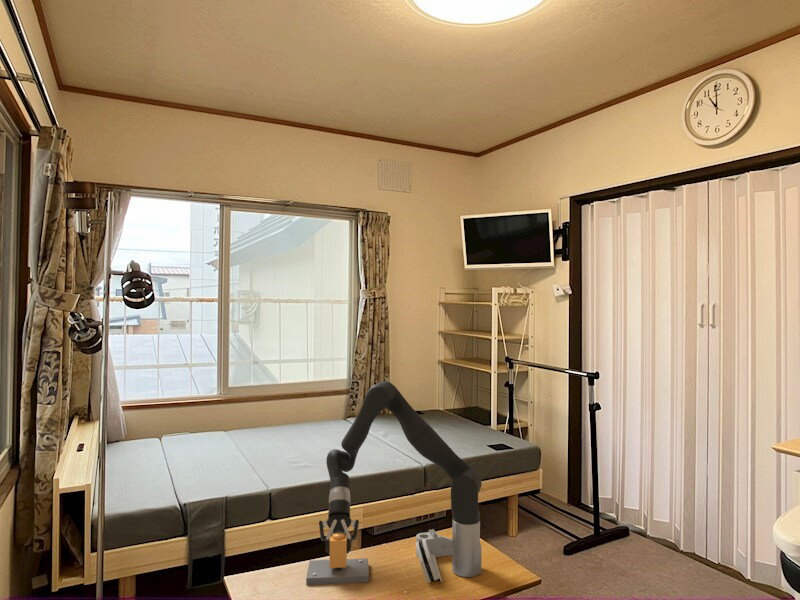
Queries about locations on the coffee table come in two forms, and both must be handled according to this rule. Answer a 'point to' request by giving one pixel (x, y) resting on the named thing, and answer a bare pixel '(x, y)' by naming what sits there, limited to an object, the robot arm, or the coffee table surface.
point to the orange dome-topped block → (338, 550)
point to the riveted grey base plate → (337, 572)
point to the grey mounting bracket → (436, 543)
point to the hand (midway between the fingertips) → (338, 552)
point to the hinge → (428, 562)
